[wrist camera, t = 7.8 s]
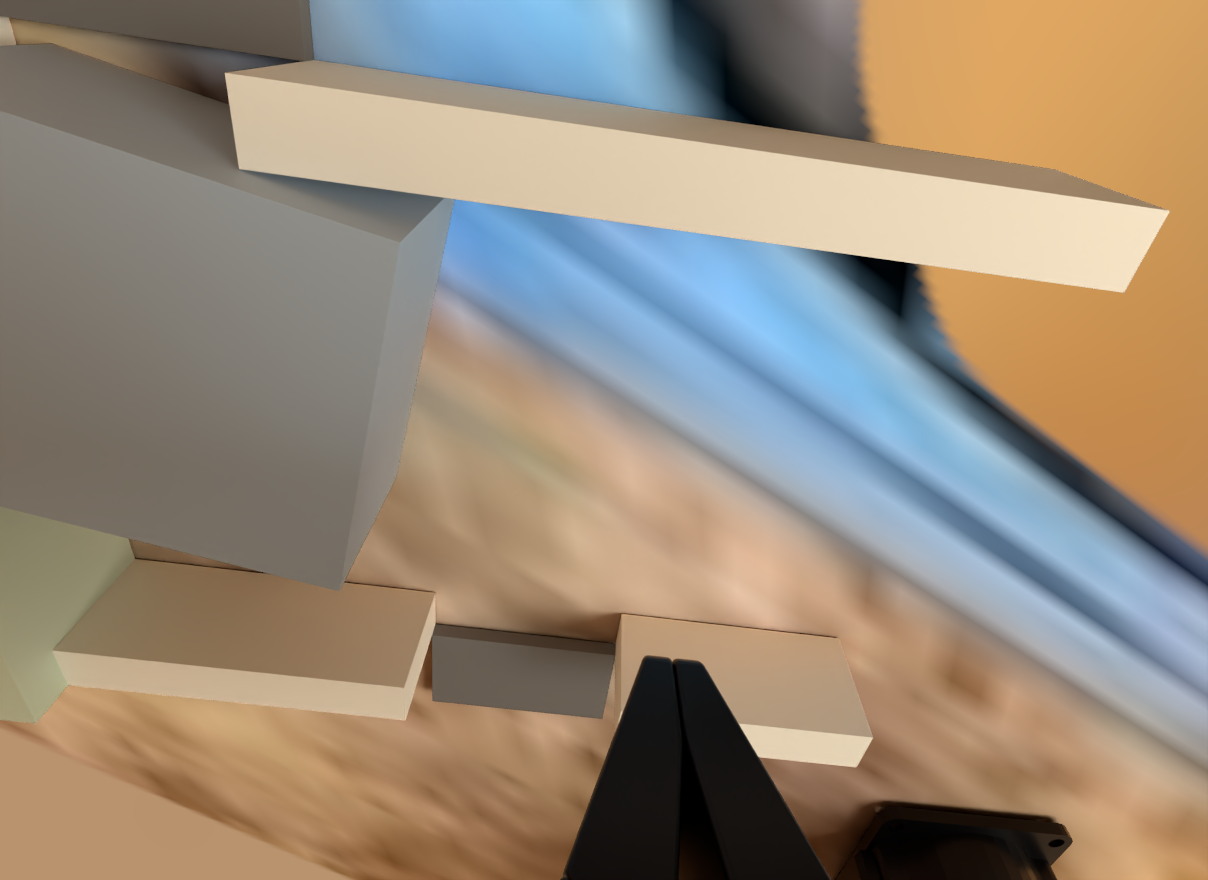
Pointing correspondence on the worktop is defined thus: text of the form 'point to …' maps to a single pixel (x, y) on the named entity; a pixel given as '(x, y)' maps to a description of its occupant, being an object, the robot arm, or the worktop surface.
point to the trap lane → (608, 192)
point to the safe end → (46, 602)
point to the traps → (459, 655)
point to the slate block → (198, 325)
